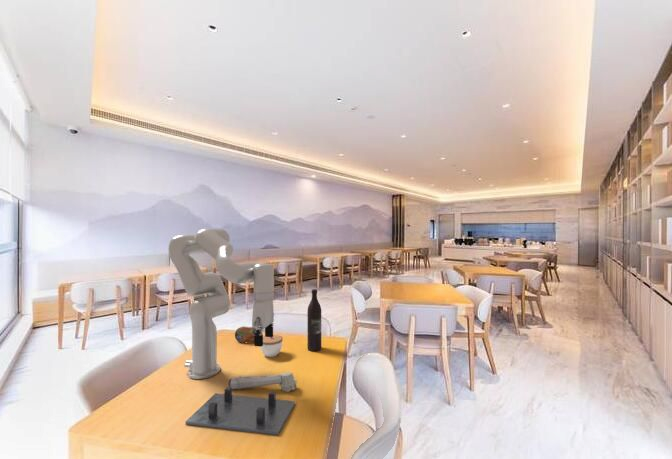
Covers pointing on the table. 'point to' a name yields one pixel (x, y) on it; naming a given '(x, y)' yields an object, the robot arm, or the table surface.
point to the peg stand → (243, 413)
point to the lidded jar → (272, 345)
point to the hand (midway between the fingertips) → (264, 341)
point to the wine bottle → (314, 323)
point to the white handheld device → (265, 381)
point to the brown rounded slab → (245, 334)
